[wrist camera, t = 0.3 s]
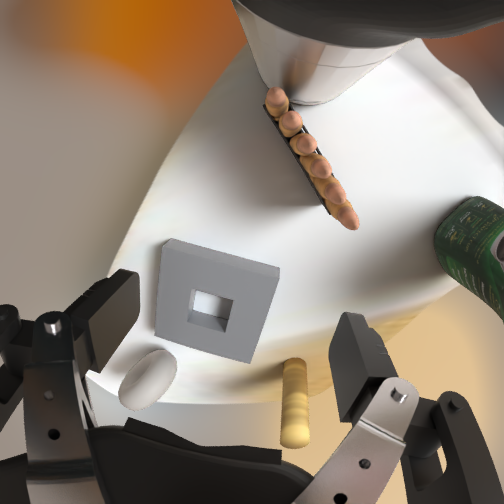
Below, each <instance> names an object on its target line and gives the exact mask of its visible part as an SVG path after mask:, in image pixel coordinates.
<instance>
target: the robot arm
mask: <svg viewBox="0 0 504 504" xmlns="http://www.w3.org/2000/svg"><path fill="white" fill-rule="evenodd" d="M231 1H232V3H233V5H234V8H235V10H236V13H237V15H238V16H239V20H240V22H241V25H242V27H243V30H244V32H245V35H246V38H247V40H248V43H249V46H250V49H251V51H252V54H253V57H254V60H255V63H256V65H257V68H258V71H259V73H260V75H261V78H262V80H263V81H264V82H265V84H266V85H267V86H268V88H269V89H270V88H272V87H280V88H281V89H283V91H284V92H285V94H286V96H287V97H288V100H289V101H290V102H293V103H297V104H303V105H317V104H322V103H326V102H328V101H331V100H333V99H335V98H336V97H338V96H339V95H340V94H342V93H343V92H344V91H346V90H347V89H348V88H350V87H351V86H352V85H353V84H355V83H356V82H357V81H359V80H360V79H361V78H362V77H364V76H365V75H366V74H368V73H369V72H370V71H372V70H373V69H374V68H375V67H377V66H378V65H379V64H381V63H382V62H383V61H385V60H386V59H388V58H389V57H390V56H391V55H393V54H394V53H395V52H397V51H398V50H399V49H401V48H402V47H404V46H405V45H406V44H408V43H409V42H411V41H412V40H413V39H415V38H430V39H432V38H448V37H454V36H458V35H463V34H466V33H469V32H472V31H475V30H478V29H480V28H484V27H486V26H489V25H493V24H495V23H499V22H502V21H504V0H231ZM139 313H140V279H139V274H138V273H137V272H133V271H129V270H125V269H119V270H118V271H116V272H115V273H114V274H113V275H112V276H111V277H110V278H105V279H102V280H100V281H98V282H96V283H94V284H93V285H92V286H91V287H90V288H89V290H87V291H85V293H83V296H82V295H81V296H80V297H79V298H78V299H77V300H76V301H74V302H73V303H72V304H71V305H70V306H69V307H68V308H67V309H66V310H65V311H64V312H60V311H50V312H46V313H44V314H42V315H40V316H39V317H38V318H37V319H36V320H35V321H30V320H23V319H20V316H19V313H18V310H17V308H16V307H15V306H13V305H9V304H4V305H0V355H1V357H2V359H3V362H4V364H3V365H2V366H1V367H0V432H1V431H2V429H3V427H4V425H5V424H6V422H7V421H8V419H9V418H10V416H11V414H12V413H13V412H14V410H15V408H16V407H17V405H18V404H19V402H20V401H21V400H22V398H23V410H24V428H25V439H26V448H27V453H24V454H21V455H18V456H14V457H11V458H8V459H5V460H1V461H0V504H375V503H376V502H377V500H378V498H379V497H380V495H381V493H382V492H383V490H384V488H385V486H386V485H387V483H388V481H389V479H390V477H391V475H392V473H393V471H394V469H395V468H396V466H397V463H398V462H399V460H401V466H402V471H403V476H404V482H405V489H406V495H407V502H408V504H504V494H503V491H502V488H501V484H500V482H499V478H498V475H497V472H496V469H495V466H494V464H493V460H492V458H491V456H490V452H489V450H488V447H487V445H486V442H485V440H484V437H483V435H482V432H481V430H480V428H479V426H478V423H477V421H476V419H475V416H474V414H473V412H472V410H471V408H470V406H469V404H468V402H467V400H466V399H465V398H464V397H463V396H461V395H460V394H458V393H456V392H452V391H446V392H444V393H442V394H441V396H440V397H439V398H438V400H437V401H434V400H430V399H425V398H421V397H419V394H418V391H417V389H416V388H415V387H414V386H413V385H412V384H411V383H410V382H408V381H407V380H405V379H402V378H399V377H398V375H397V372H396V370H395V367H394V365H393V363H392V361H391V358H390V356H389V355H388V352H387V349H386V348H385V347H384V346H385V345H384V343H383V340H382V338H381V336H380V335H379V334H378V333H377V332H376V331H375V330H374V329H373V328H369V327H368V325H367V322H366V320H365V318H364V316H363V315H362V314H356V313H349V312H344V313H343V314H342V315H341V318H340V320H339V323H338V325H337V328H336V331H335V333H334V336H333V338H332V341H331V343H330V347H329V363H330V368H331V373H332V378H333V383H334V389H335V394H336V399H337V406H338V412H339V417H340V422H349V423H350V422H351V423H352V429H351V430H350V431H349V433H348V434H347V436H346V437H345V438H344V440H343V441H342V442H341V444H340V445H339V446H338V448H337V449H336V450H335V451H334V453H333V454H332V455H331V456H330V458H329V459H328V460H327V462H326V463H325V464H324V465H323V466H322V468H321V469H320V470H319V471H318V472H317V473H316V474H315V476H314V477H313V476H312V475H311V474H309V473H308V472H306V471H305V470H303V469H302V468H300V467H298V466H296V465H294V464H291V463H289V462H286V461H283V460H281V457H282V450H277V449H267V448H259V447H250V446H244V445H241V446H209V447H208V446H206V447H205V446H199V445H197V444H195V443H192V442H190V441H188V440H186V439H184V438H182V437H179V436H178V435H175V434H174V433H172V432H170V431H168V430H166V429H164V428H161V427H158V426H155V425H151V424H148V423H145V422H141V421H139V420H136V419H133V418H130V417H128V420H127V421H126V423H125V425H124V426H115V425H110V426H100V427H98V425H97V422H96V418H95V415H94V411H93V407H92V402H91V398H90V393H89V389H88V383H87V379H86V375H85V374H86V373H87V371H88V370H92V371H94V372H97V373H99V374H100V373H101V371H102V370H103V368H104V367H105V365H106V364H107V362H108V361H109V359H110V358H111V356H112V355H113V353H114V352H115V351H116V349H117V348H118V346H119V345H120V343H121V342H122V341H123V339H124V338H125V336H126V335H127V333H128V332H129V331H130V329H131V328H132V326H133V325H134V324H135V322H136V321H137V319H138V316H139ZM440 446H442V448H443V451H444V454H445V458H446V461H447V467H446V470H445V472H444V474H443V471H442V468H441V464H440V461H439V457H438V453H437V450H438V448H440Z"/></svg>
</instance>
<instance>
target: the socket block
mask: <svg viewBox="0 0 504 504" xmlns="http://www.w3.org/2000/svg"><path fill="white" fill-rule="evenodd" d="M279 273H280V268H278V267H275V266H271V265H267V264H263V263H260V262H256V261H252V260H249V259H245V258H241V257H238V256H234V255H230V254H227V253H223V252H219V251H216V250H212V249H208V248H205V247H201V246H197V245H194V244H190V243H186V242H183V241H179V240H176V239H172V238H171V239H170V240H169V241H168V242H167V243H166V244H164V245H163V246H162V254H161V262H160V272H159V282H158V292H157V305H156V319H155V336H157V337H160V338H163V339H166V340H169V341H172V342H175V343H178V344H181V345H184V346H187V347H190V348H194V349H197V350H200V351H204V352H207V353H211V354H214V355H218V356H221V357H225V358H229V359H232V360H236V361H240V362H244V363H248V364H250V362H251V360H252V357H253V354H254V351H255V348H256V346H257V343H258V340H259V337H260V334H261V331H262V328H263V326H264V323H265V320H266V317H267V314H268V311H269V308H270V305H271V302H272V299H273V296H274V293H275V290H276V287H277V284H278V281H279ZM196 290H199V291H202V292H206V293H209V294H213V295H216V296H220V297H223V298H227V299H230V300H234V301H233V305H232V308H231V312H230V316H229V320H226V319H223V318H219V317H216V316H212V315H209V314H205V313H202V312H198V311H195V310H193V305H194V299H195V293H196Z"/></svg>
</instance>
